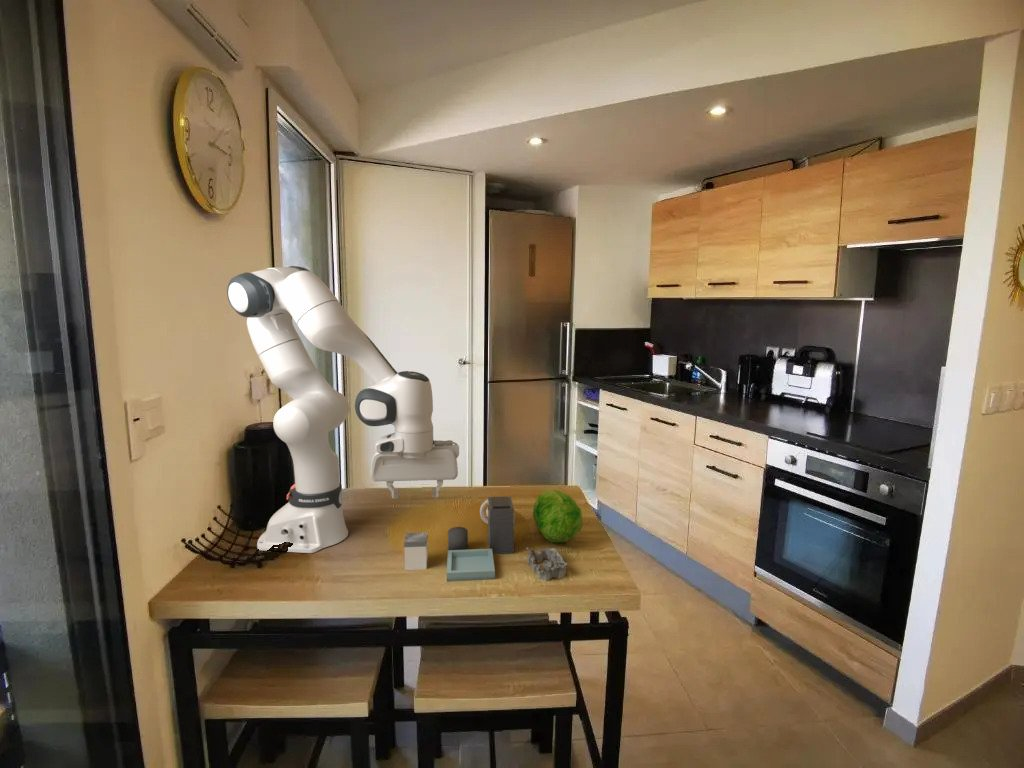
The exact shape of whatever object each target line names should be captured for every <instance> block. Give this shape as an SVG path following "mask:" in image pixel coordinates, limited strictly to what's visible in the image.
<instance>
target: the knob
mask: <svg viewBox="0 0 1024 768" xmlns="http://www.w3.org/2000/svg"><path fill="white" fill-rule="evenodd" d="M468 537H469V530H468V528H466V527H463V526H454V527H451V528H449V529H448V531H447V541H448V544H447V545H448V547H447V548H448V550H469V549H468V548H469V544H468V543H469V541H468V540H469V538H468ZM448 550H447V551H448Z"/></svg>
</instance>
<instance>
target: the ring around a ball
mask: <svg viewBox="0 0 1024 768" xmlns="http://www.w3.org/2000/svg"><path fill="white" fill-rule="evenodd" d="M486 506H487V508H486V510H485V507H486ZM484 510H485V514H486V515H485V514H484ZM479 516H480V519H481V520H482V521H483V522H484V523H485V524H487V525H488V518H486V517H488V499H486V500H485V501H483V502H482V503H481V505H480V508H479Z"/></svg>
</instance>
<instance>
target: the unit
mask: <svg viewBox="0 0 1024 768" xmlns="http://www.w3.org/2000/svg"><path fill="white" fill-rule="evenodd" d="M487 500H488V504H487V507H488V516H487V520H488V524H487V526H488V527H487V537H488V538H487V541H488V542H487V543H488V549H492V552H493V555H504V554H507V555H509V554H510V555H511V554H514V543H515V541H514V534H515V533H514V532H515V531H514V528H515V509H514V508H515V507H514V504H513V500H512V496H490V497H487Z"/></svg>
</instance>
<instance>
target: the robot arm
mask: <svg viewBox="0 0 1024 768" xmlns="http://www.w3.org/2000/svg"><path fill="white" fill-rule="evenodd" d="M226 295H227V300H228V303H229V305H230V306H231V308H232V309H233V310H234V311H235V312H236V313H237V314H238V315H239V316H241V317H244V318H247V319H246V328H247V332H248V334H249V338H250V340H251V343H252V346H253V347H254V350H255V353H256V355H257V357H258V358H259V360H260V362H261V365H262V366H263V368H264V370H265V372H266V375H267V376H268V379H270V380H269V381H270V382H271V384H272V385H273V386H274V387H276V388H278V389H280V390H282V391H284V393H285V394H286V395H287V396H289V398H290V399H291V400H290V401H289V402H287V403H286V404H285V405H283V406H282V407H281V408H279V410H277V412H275V414H274V417H273V423H272V424H273V425H272V427H273V431H274V433H275V435H276V436H277V437H278V438H279V439H280V440H281V441H282V442H284V443H285V444H286V446H287V448H288V450H289V452H290V453H289V454H290V456H291V458H292V461H293V462H292V463H293V473H294V484H293V485H292V486H290V489H289V491H288V493H287V494H286V501H288V502H287V503H285V505H283V506H282V507H280V508H279V509H278V510H277V511H275V513H273V515H272V516H271V517H270V519H269V521H268V522H267V525H266V530H265V531H264V532H263V533H262V534H261V535H260V536H259V537H258V539H257V542H256V543H257V544H256V548H257V550H258V549H259V551H265V552H267V550H269V549H270V548H271V547H272V546H273V545H279V544H282V543H284V542H290V543H293V545H292V546H291V547H288V551H287V552H286V553H300V554H301V553H303V554H312V553H316V552H319V551H321V550H322V549H324V548H327V547H330V546H331V547H332V546H334V545H336V544H338V543H340V542H342V541H343V540H345V539H346V538H347V537H348V535H349V530H348V528H347V525H346V522H345V521H346V520H345V517H344V513H343V507H342V505H343V501H344V499H343V489H342V483H341V482H340V464H339V463H340V460H339V456H338V454H337V453H336V452H334V451H333V449H332V448H331V445H330V441H329V432H332V431H333V430H335V429H337V428H339V427H340V426H341V425H342V424H343V423H344V422H345V420H346V419H347V418H348V416H349V415H350V414H349V413H350V408H351V407H350V402H349V400H348V399H347V397H346V396H345V395H344V394H342V393H341V392H339V391H337V390H336V389H334V388H333V386H332V385H331V384H330V383H329V382H328V381H327V380H326V379H325V377H324V376H323V375H322V374H321V372H320V371H319V370H318V368H317V367H316V366H315V364H314V362H313V360H312V359H311V358H312V357H310V355H309V352H308V350H307V349H306V347H305V345H304V343H303V340H302V339H301V337H300V335H299V333H298V332H297V330H296V328H295V326H294V323H293V321H294V322H295V325H297V327H298V328H299V330H300V331H301V333H302V334H303V336H304V337H305V338H306V339H307V340H308V342H310V344H312V345H313V346H314V347H315V348H316V349H319V350H323V351H326V352H331V353H335V354H339V355H342V356H345V357H347V358H349V359H351V360H353V361H354V362H355V363H356V364H357V365H358V366H359V367H360V368H361V370H362V371H363V372H364V373H365V374H366V375H367V377H368V378H369V379H370V381H371V382H372V383H373V384H374V385H370V386H368V387H365V388H363V389H362V390H360V391H359V393H357V395H356V397H355V400H354V410H355V414H356V415H357V418H358V419H359V421H361V422H362V423H363V424H365V425H366V426H369V427H381V426H388V425H393V427H394V432H393V433H390V434H386V435H383V436H380V437H379V438H378V439H377V440H376V442H375V444H374V445H375V446H374V448H375V449H374V450H375V452H374V455H373V456H372V458H371V465H370V478H371V480H372V481H373V482H386V486H387V488H388V490H389V492H390V493H391V499H392V500H393V499H395V500H397V499H399V497H400V494H399V492H400V491H399V489H398V488H395V486H394V483H395V482H407V481H408V482H409V481H410V482H411V481H413V482H415V481H416V482H417V481H436V484H437V486H436V487H435V488H434V487H432V490H431V492H432V495H431V496H432V498H439V493H440V490H441V488H442V487H443V485H444V481H449V480H452V481H453V480H456V478H457V477H458V476H459V475H458V474H459V471H458V460H457V458H458V457H459V455H460V446H459V444H458V443H457V442H455V441H453V440H451V439H450V440H437V439H436V440H434V424H433V422H432V418H433V417H432V415H433V411H434V404H433V403H434V401H433V390H432V384H431V381H430V379H429V377H428V376H427V375H425V374H424V373H421V372H418V371H408V370H404V371H396V369H395V368H394V367H393V366H392V364H391V363H390V362H389V360H388V359H387V358H386V357H385V356H384V354H383V353H382V352H381V351H380V349H379V348H378V347H377V345H376V344H375V343H374V342H373V340H371V338H370V337H369V336H368V335H367V334H366V333H365V332H364V331H363V330H362V329H361V328H360V327H359V326H358V324H356V322H354V320H353V319H352V318H351V317H350V315H349V314H348V312H347V311H346V309H345V308H344V307H343V306H342V304H341V303H340V301H339V300H338V298H337V297H336V296H335V295H334V292H332V290H331V289H330V288H329V287H328V286H327V284H325V283H324V281H322V279H321V278H320V277H319V276H317V274H315V273H314V272H312V271H311V270H309V269H308V268H306V267H304V266H296V265H290V266H279V267H277V266H276V267H274V266H273V267H268V268H263V269H261V270H256V271H251V272H242V273H240V274H237V275H235V276H233V277H232V278H231V279H230V280H229V281H228V284H227V289H226ZM274 548H278V547H274Z"/></svg>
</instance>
